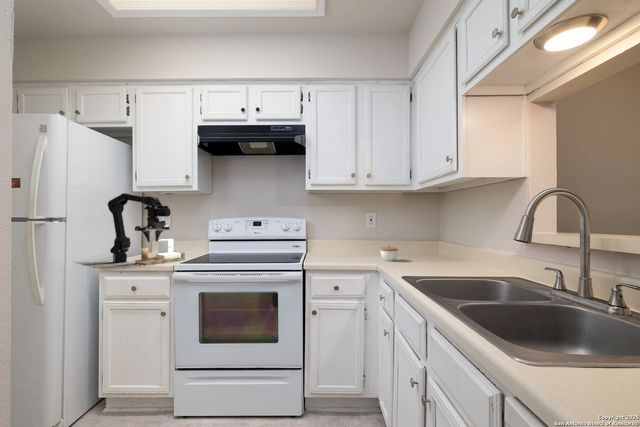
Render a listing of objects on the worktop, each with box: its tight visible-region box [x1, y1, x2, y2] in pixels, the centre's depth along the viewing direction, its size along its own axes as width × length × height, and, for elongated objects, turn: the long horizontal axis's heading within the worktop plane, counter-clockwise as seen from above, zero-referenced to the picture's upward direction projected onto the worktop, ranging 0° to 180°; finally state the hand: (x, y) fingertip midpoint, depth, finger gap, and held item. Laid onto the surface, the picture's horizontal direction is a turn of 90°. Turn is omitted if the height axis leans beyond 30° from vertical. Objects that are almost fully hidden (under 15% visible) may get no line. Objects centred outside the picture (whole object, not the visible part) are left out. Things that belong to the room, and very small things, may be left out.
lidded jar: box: [379, 245, 399, 262], centre depth 193 cm, size 11×11×9 cm
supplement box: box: [157, 238, 174, 254], centre depth 214 cm, size 7×7×13 cm
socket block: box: [155, 252, 181, 260], centre depth 198 cm, size 11×11×3 cm
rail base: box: [135, 250, 186, 266], centre depth 194 cm, size 24×14×5 cm, turn 144°
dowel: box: [140, 247, 149, 259], centre depth 200 cm, size 4×4×8 cm
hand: (152, 241), depth 190 cm, fingers open, 4 cm apart
